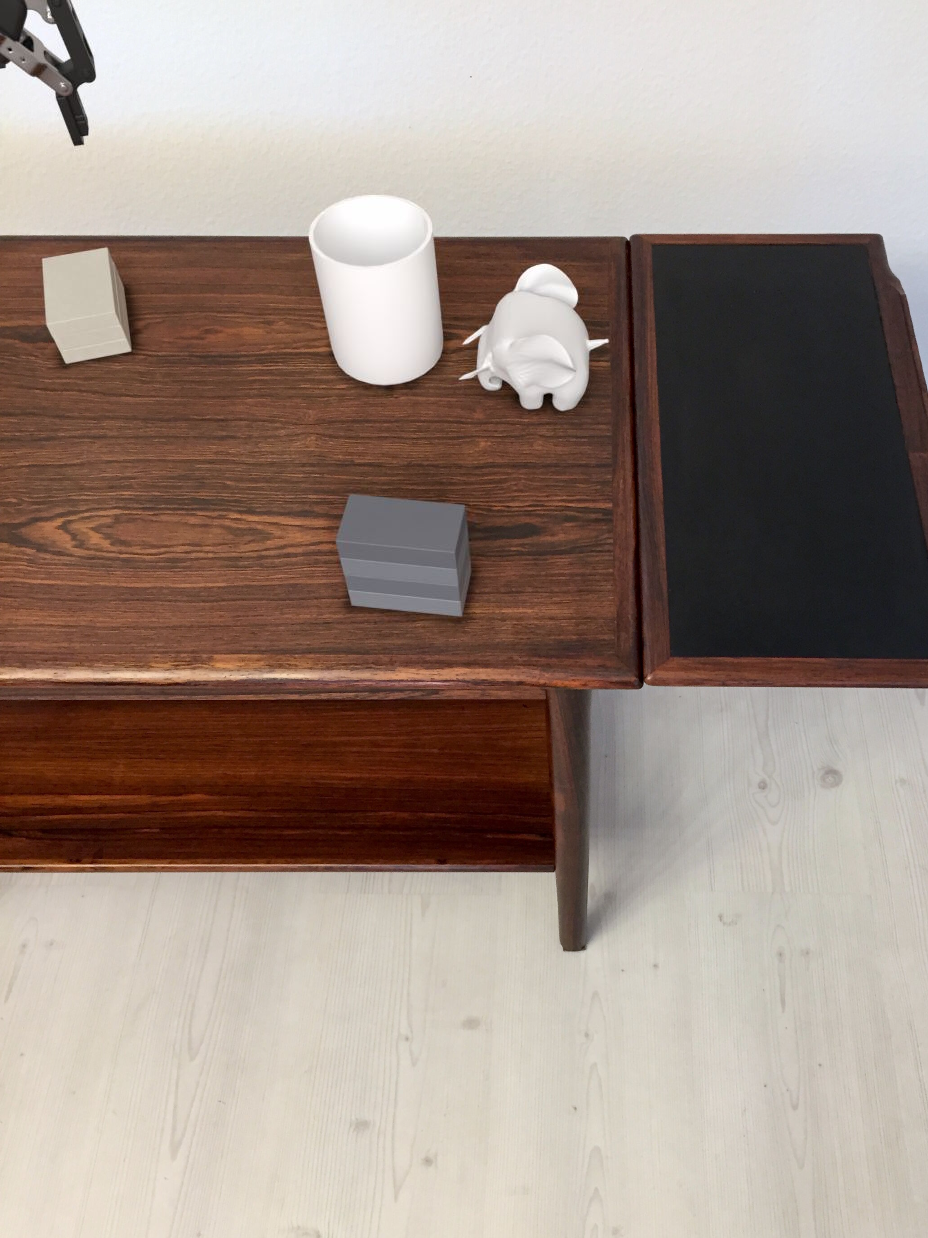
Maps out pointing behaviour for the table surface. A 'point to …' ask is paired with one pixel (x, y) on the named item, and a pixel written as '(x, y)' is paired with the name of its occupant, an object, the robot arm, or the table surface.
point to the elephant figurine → (536, 341)
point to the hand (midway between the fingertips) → (18, 149)
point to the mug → (379, 287)
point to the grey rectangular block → (405, 554)
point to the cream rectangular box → (99, 336)
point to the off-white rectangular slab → (80, 292)
